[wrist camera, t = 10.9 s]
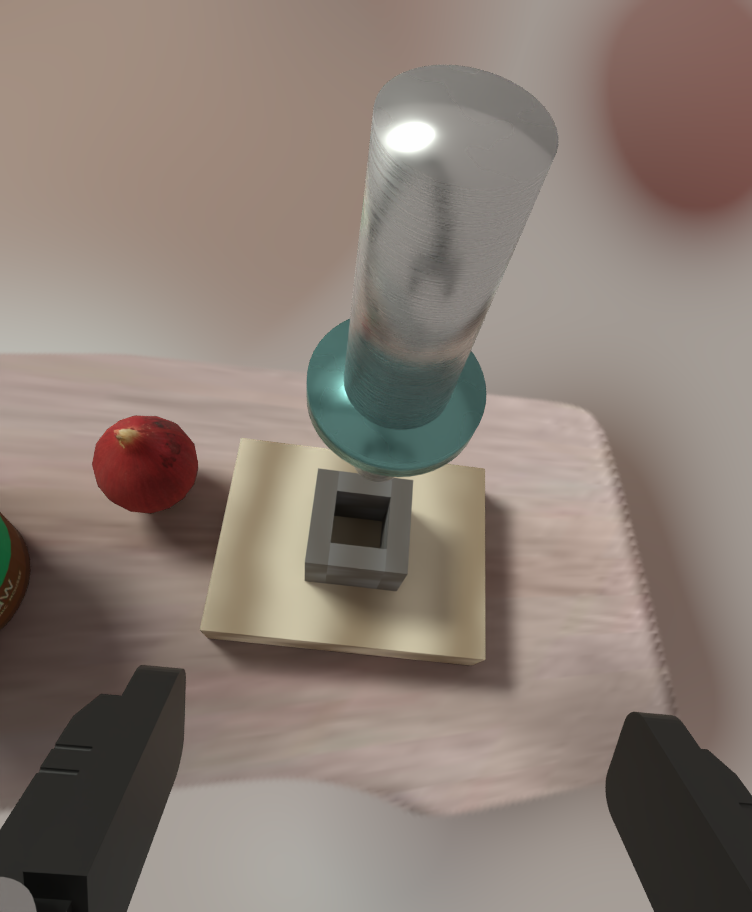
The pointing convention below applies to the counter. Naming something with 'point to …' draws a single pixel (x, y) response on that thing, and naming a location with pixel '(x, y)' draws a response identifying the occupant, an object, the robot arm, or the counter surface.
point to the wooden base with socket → (350, 558)
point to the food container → (12, 570)
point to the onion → (145, 464)
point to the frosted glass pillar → (428, 267)
